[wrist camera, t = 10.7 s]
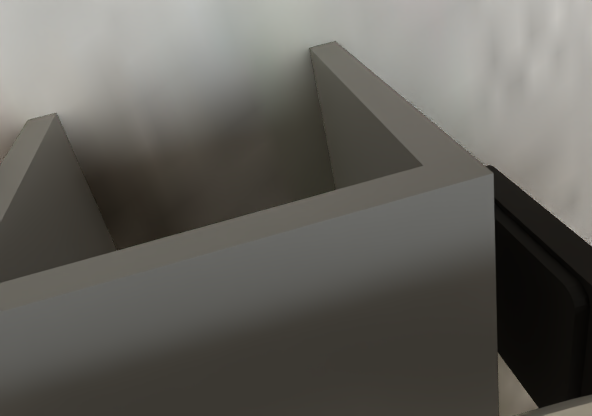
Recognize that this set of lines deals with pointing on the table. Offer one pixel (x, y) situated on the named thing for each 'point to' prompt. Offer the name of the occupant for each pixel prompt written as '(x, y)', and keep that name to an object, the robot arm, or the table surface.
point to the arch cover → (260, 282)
